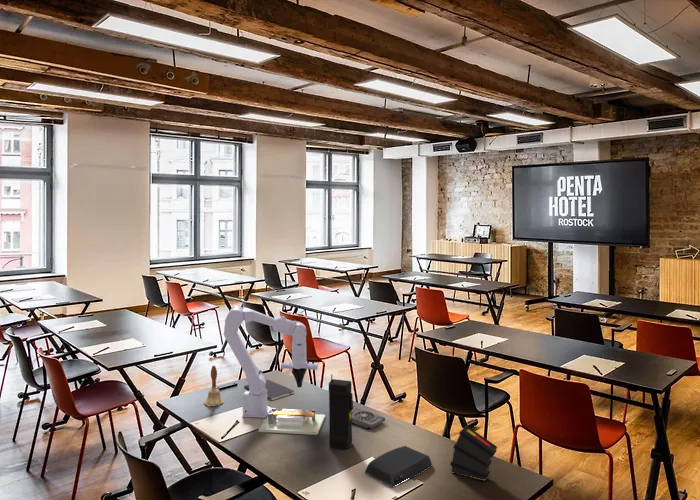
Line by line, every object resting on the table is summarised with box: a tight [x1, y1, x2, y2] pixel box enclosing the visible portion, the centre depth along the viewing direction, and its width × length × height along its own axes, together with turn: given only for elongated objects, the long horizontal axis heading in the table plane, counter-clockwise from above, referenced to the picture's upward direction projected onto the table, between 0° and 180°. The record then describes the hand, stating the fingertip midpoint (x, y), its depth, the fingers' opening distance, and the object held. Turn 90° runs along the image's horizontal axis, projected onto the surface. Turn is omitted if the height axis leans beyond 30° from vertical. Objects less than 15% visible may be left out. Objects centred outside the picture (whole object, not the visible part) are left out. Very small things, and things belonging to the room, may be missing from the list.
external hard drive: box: [363, 445, 433, 488], centre depth 167 cm, size 13×19×4 cm
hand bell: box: [203, 365, 225, 407], centre depth 222 cm, size 8×8×16 cm
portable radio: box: [328, 374, 354, 450], centre depth 183 cm, size 8×6×25 cm
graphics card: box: [352, 404, 386, 429], centre depth 203 cm, size 17×4×12 cm
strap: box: [270, 409, 314, 417], centre depth 201 cm, size 17×3×1 cm, turn 83°
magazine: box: [450, 425, 498, 479], centre depth 162 cm, size 4×13×15 cm, turn 59°
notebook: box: [243, 379, 295, 401], centre depth 237 cm, size 13×2×21 cm
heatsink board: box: [258, 407, 326, 436], centre depth 201 cm, size 22×16×5 cm
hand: (299, 386), depth 212 cm, fingers closed
